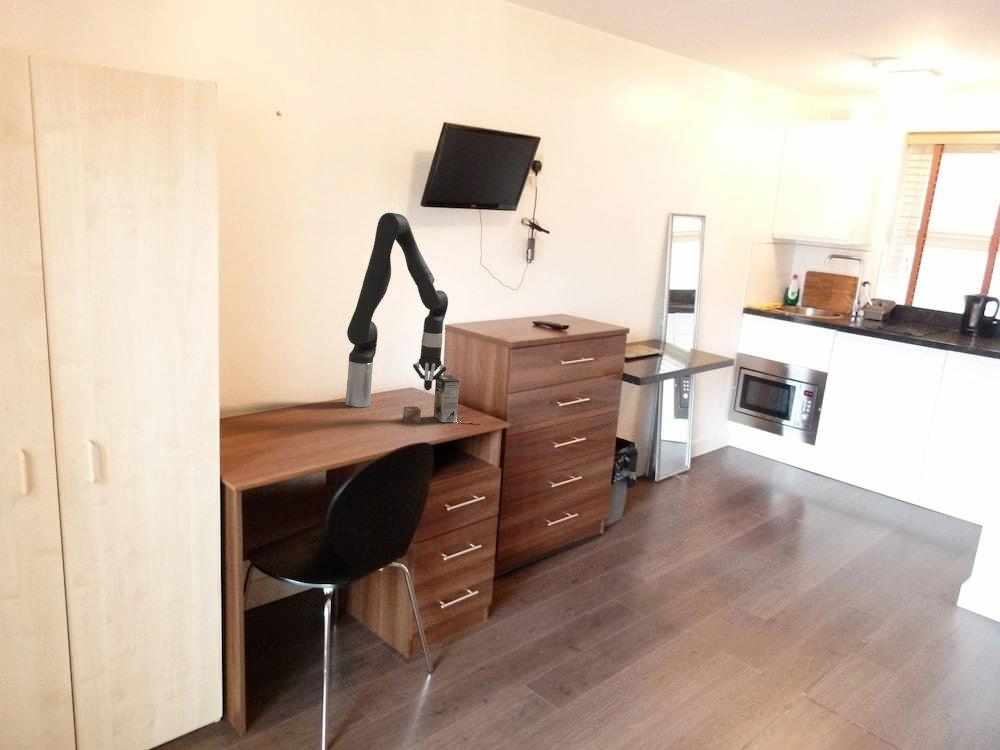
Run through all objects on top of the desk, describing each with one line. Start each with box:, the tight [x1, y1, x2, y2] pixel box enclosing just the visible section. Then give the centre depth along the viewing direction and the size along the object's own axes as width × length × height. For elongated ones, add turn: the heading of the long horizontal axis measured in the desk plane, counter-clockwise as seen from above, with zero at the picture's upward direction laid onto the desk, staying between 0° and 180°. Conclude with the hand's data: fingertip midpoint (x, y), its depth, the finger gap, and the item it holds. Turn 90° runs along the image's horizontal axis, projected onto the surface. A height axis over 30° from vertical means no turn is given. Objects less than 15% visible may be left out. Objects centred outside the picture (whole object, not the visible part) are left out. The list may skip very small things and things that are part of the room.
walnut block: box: [402, 406, 422, 424], centre depth 261 cm, size 5×5×5 cm
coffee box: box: [433, 374, 460, 423], centre depth 267 cm, size 9×6×16 cm
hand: (427, 389), depth 265 cm, fingers closed
